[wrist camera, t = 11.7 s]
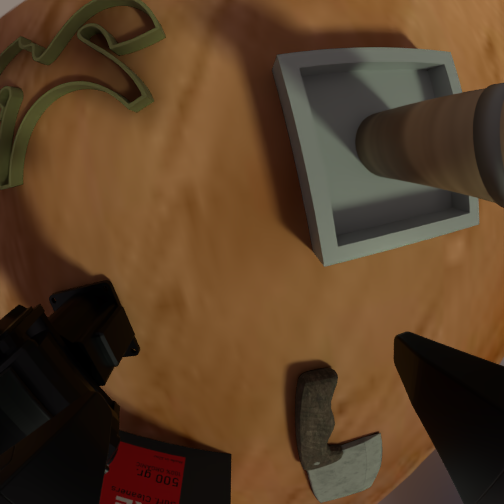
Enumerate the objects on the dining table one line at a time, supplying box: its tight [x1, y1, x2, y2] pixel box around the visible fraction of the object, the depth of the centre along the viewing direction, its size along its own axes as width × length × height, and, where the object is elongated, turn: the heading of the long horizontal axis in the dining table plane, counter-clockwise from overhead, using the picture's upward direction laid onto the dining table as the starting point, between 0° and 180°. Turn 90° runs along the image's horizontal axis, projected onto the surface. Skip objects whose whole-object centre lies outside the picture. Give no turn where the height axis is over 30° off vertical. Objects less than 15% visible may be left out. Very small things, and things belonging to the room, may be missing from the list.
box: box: [272, 47, 479, 267], centre depth 17 cm, size 12×12×3 cm
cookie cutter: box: [0, 0, 166, 190], centre depth 15 cm, size 18×12×2 cm, turn 109°
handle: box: [355, 83, 504, 208], centre depth 11 cm, size 5×5×12 cm
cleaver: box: [295, 368, 382, 503], centre depth 27 cm, size 30×10×2 cm, turn 17°
